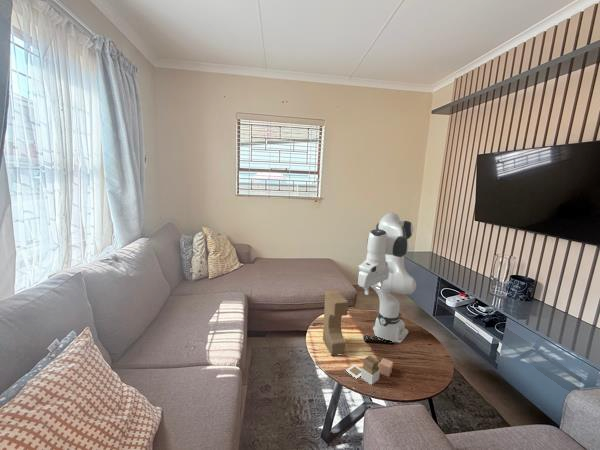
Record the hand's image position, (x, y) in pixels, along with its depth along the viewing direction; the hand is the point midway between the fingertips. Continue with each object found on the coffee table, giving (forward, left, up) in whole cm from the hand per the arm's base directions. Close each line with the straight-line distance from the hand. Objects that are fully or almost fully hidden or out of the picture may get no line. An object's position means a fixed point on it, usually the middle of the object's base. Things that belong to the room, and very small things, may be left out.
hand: (372, 291), depth 131 cm
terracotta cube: (-3, +9, -39) cm, 40 cm away
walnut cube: (+7, +7, -34) cm, 36 cm away
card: (+9, 0, -39) cm, 40 cm away
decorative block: (+3, -20, -39) cm, 44 cm away
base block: (+7, +7, -39) cm, 41 cm away
